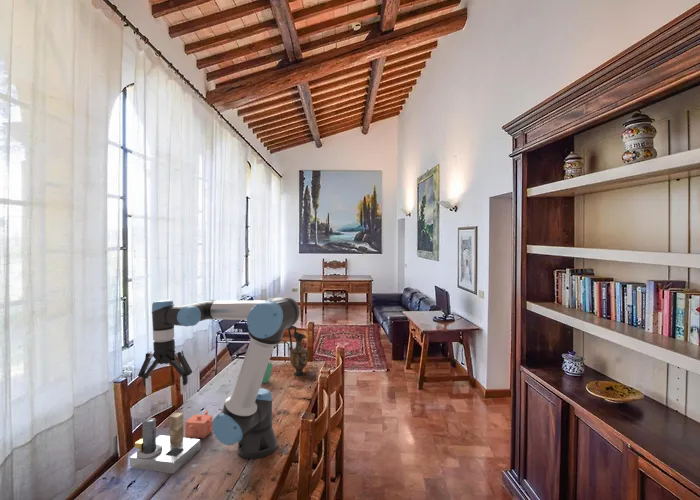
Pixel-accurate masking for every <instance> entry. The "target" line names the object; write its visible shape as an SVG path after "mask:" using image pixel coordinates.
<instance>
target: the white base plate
mask: <svg viewBox="0 0 700 500" xmlns="http://www.w3.org/2000/svg"><path fill="white" fill-rule="evenodd" d="M156 444H157V445H161V446H162V452H161V453H160V454H159V455H157V456H155V457H153V458H149V459H139V458H137V452H138V451H136V452H135V453H134V454H132V455H131V456H130V457H129V468H130V467H132V468H137V469H136V470H140V469H145V470H144V471H148V470H153V471H152V472H156V471H159V472H158V473H164V472H166V473H165V474H172V473H174V474H175V473H176V472H177V471H179V470H180V469H181V468H182V467H183V466H184V465H185V464H186V463H187V462H188V461H190V459H192V458H193V457H194V456H195V455H196V454H197V453H198V452H199V451H200V450H201V439H199V438H187V437H184V438H183V439H182V440H180V441H179V442H178V443H177V442H170V435H161V434H160V435H158V436H156ZM195 453H196V454H195ZM194 454H195V455H194ZM193 455H194V456H193ZM192 456H193V457H192ZM187 460H188V461H187ZM186 461H187V462H186ZM185 462H186V463H185ZM184 463H185V464H184ZM183 464H184V465H183ZM182 465H183V466H182ZM181 466H182V467H181ZM180 467H181V468H180ZM132 468H131V469H132ZM179 468H180V469H179Z"/></svg>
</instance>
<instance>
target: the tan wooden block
mask: <svg viewBox="0 0 700 500" xmlns="http://www.w3.org/2000/svg"><path fill="white" fill-rule="evenodd" d="M169 436H170V442H177V443H178V442H179V441H180V440H182V439H183V438H185V437H184V413H183V412H174V413H172V414H171V415H169Z"/></svg>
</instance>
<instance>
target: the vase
mask: <svg viewBox="0 0 700 500" xmlns="http://www.w3.org/2000/svg"><path fill="white" fill-rule="evenodd" d="M287 329H288V330H287V331H288V337H289V345H290V347H288V349H289V361H290V365H291V366H292V367H293V368H294V369H295V372H294V373H293V375H294V376H297V377H301V376H302V377H303V376H304V375H306V371H304V369H305V368H306V367H307V365H308V361H309V353H310V352H309V350H308V349H307V348H305V347H303V344H302V343H303V340H304V339H306V335H304V334H303V333H301V332H300V333H299V332H298V331H297V327H296V326H295V325H293V326H291V327H289V328H287ZM291 329H294V331H293V338H294V339H295V342H296V343H295V347H294V348H293V338H292V333H291Z"/></svg>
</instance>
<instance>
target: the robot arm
mask: <svg viewBox="0 0 700 500" xmlns="http://www.w3.org/2000/svg"><path fill="white" fill-rule="evenodd" d="M300 310H301V309H300V306H299V304H298V302H297V301H296V300H295V299H294V298H292V297H289V296H280V297H279V296H278V297H270V298H269V299H267V300H216V299H207V300H204V301H200V302H196V303H190V304H185V305H175V304H174V301H173V300H172V299H161V300H155V301H153V302H152V304H151V315H152V316H151V317H152V320H151V321H152V340H153V342H152V343H153V345H152V346H153V352H152V351H149V352H147V353H145V358H144V361H143V363H142V365H141V368H140V370H139V372H138V375H137V376H138V377H139V378H142V379H143V386H144V387H145V395H146V396H149V395H151V394H152V392H153V391H152V390H153V389H152V388H153V387H152V376H150V375H151V374H152V372H153V371H154V370H155V369H156V367H157V366H158V365H162V364H163V365H164V364H165V365H168V364H169V365H170V366H172V368H174V369H175V371H177V373H178V374H179V375H180V377H179V378H180V381H179V382H180V395H184V394H185V393H186V392H187V387H186V386H187V385H188V380H189V379H188V377H189V376H190V375H192V373H193V370H192V368H191V366H190V364H189V363H188V361H187V359H186V358H185V355H184V354H185V353H184V351H183V350H180V351H175V349H176V342H175V326H179V327H180V326H181V327H193V326H196V325H197V324H198V323H199V322H202V321H207V320H232V321H233V320H236V321H237V320H238V321H242V320H243V321H246V326H247V329H248V333H247V334H248V336H249V338H250V340H249V343H248V346H247V347H248V348H247V349H246V352H245V355H244V357H243V362H242V364H241V367H240V370H239V373H238V377H237V379H236V382H235V385H234V388H233V391H232V394H231V395H230V396H228V397H227V398H226V400H225V402H224V404H223V408H222V410H221V412H220V413H218V414H216V416H214V418H213V423H212V429H213V430H212V432H213V434H214V436H215V438H216V439H217V440H218V442H220V443H221V444H223V445H225V446H234V445H235V444H237V453H238V455H239V456H241V457H243V458H244V459H245V458H246V459H261V458H264V457H266V456H269V455H271V454H272V453H273V452H274V451H276V449H277V447H278V445H277V444H278V441H277V436H276V433H275V431H274V428H273V397H272V392H271V391H270V389H267V388H264V387H262V388H261V386H262V384H263V383H262V380H263V378H264V375H265V372H266V369H267V366H268V363H269V364H270V360H271V357H272V355H273V351H274V348H275V347H276V345H279V344H280V343H281V341H282V339H283V336H284V332H285V330H287V329H289V327H291V326H295V324H296V323H297V322H298V321H299V318H300V315H301V311H300ZM152 358H153V359H154V361H153V362H152V364H151V365H150V362H151V360H152ZM177 359H178V360H177ZM178 361H179V362H178ZM149 365H150V367H149ZM148 367H149V368H148Z"/></svg>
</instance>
